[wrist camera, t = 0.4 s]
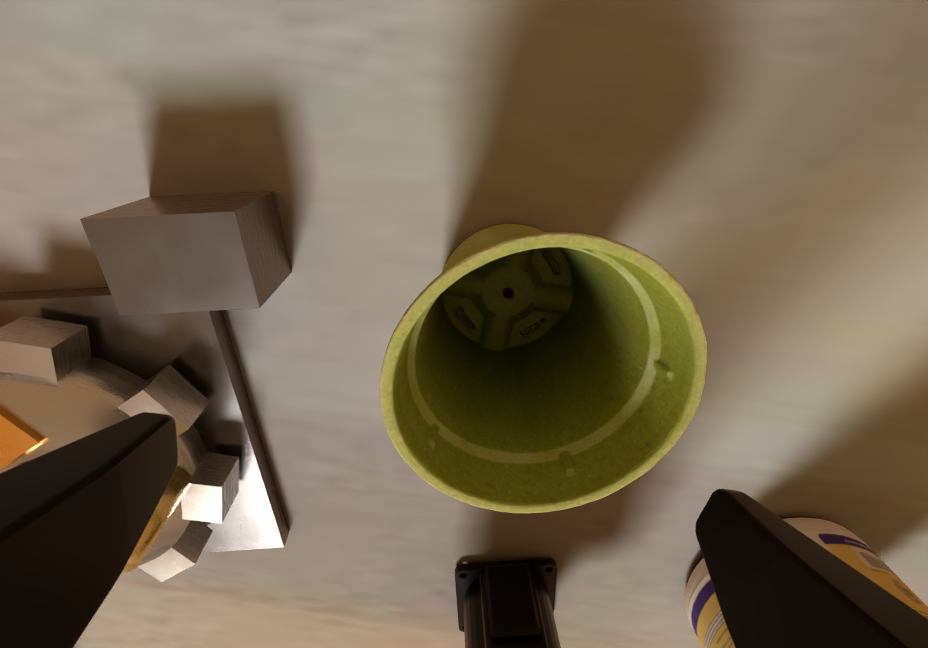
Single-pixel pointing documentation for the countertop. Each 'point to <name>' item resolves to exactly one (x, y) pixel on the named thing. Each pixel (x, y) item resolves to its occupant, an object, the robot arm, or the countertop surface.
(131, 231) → the taupe rectangular block
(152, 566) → the grey cog wheel
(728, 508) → the robot arm
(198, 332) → the base plate
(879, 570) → the supplement tub
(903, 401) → the countertop surface
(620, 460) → the plant pot
